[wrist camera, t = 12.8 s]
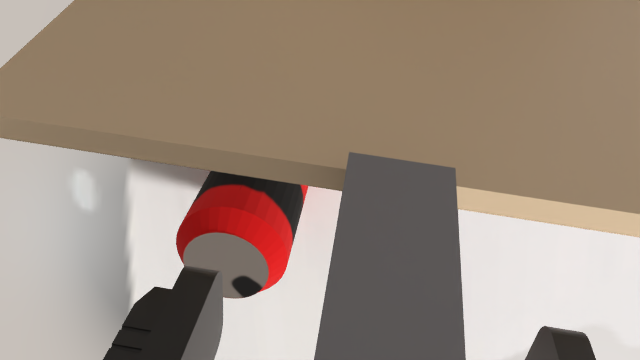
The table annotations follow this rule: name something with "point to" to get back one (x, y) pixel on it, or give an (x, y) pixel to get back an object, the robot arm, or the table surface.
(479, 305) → the table surface
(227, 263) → the soda can
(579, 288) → the table surface
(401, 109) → the carton flap
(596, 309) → the table surface
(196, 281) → the robot arm
